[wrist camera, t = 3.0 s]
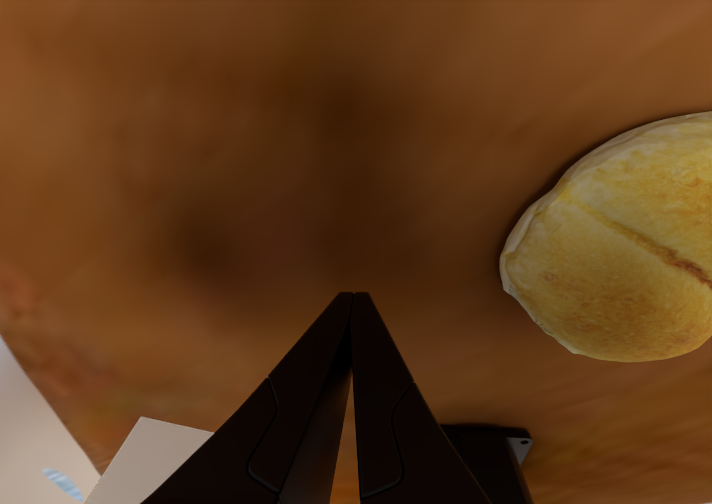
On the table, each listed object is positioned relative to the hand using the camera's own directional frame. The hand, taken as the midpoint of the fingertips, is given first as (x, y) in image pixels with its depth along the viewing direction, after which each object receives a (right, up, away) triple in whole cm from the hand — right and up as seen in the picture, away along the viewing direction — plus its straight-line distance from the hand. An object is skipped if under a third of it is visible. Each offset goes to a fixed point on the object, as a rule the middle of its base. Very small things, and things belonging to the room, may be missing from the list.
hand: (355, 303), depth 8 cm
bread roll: (+10, +2, +3) cm, 11 cm away
